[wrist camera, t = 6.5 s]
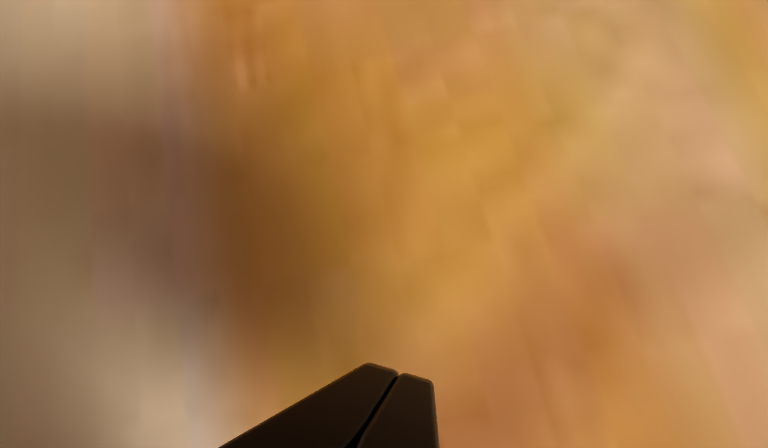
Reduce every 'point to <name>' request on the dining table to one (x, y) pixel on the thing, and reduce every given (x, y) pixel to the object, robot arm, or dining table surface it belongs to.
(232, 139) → the dining table surface
